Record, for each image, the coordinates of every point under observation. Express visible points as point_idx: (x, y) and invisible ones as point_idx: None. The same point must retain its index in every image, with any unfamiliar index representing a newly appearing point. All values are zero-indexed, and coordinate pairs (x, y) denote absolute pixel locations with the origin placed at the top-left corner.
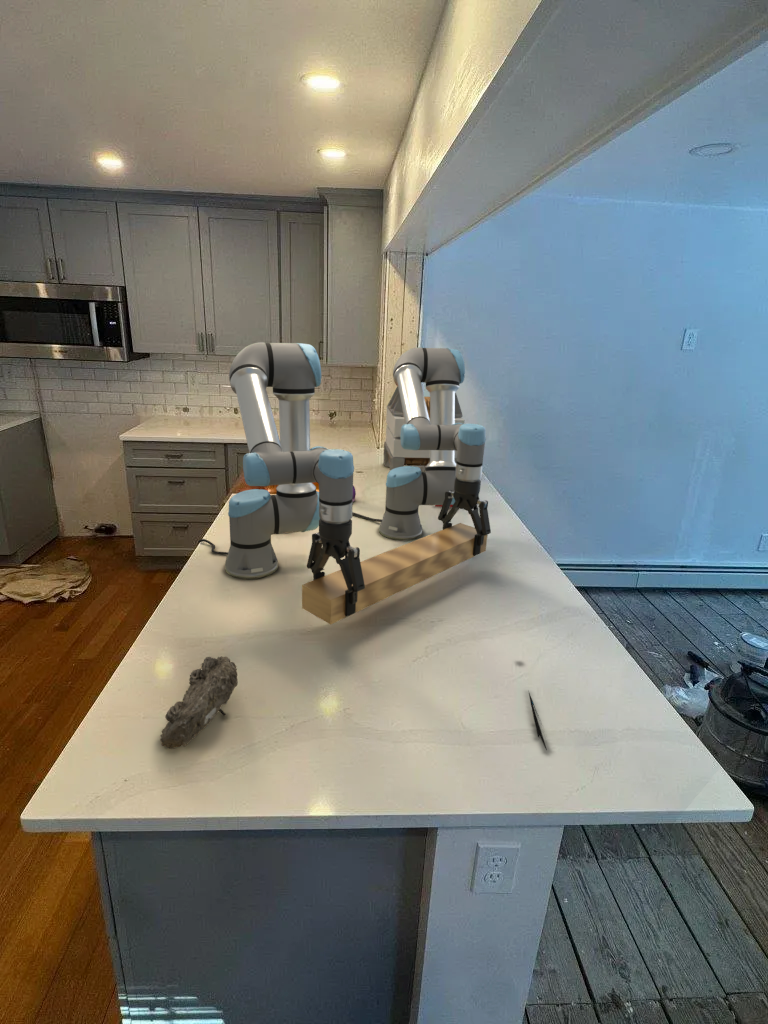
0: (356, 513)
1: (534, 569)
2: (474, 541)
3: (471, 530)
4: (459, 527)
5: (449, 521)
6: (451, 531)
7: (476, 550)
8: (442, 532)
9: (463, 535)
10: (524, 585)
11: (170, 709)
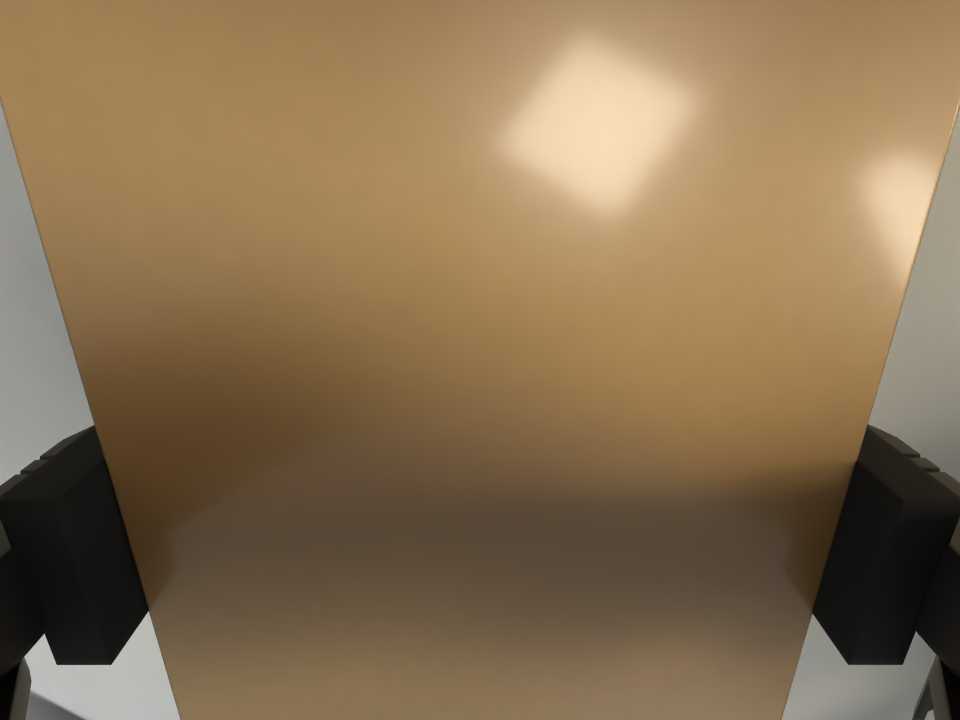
0: None
1: (164, 674)
2: None
3: (414, 684)
4: (658, 649)
5: (940, 669)
6: (670, 386)
7: None
8: (819, 157)
9: (335, 397)
10: (13, 456)
11: None
